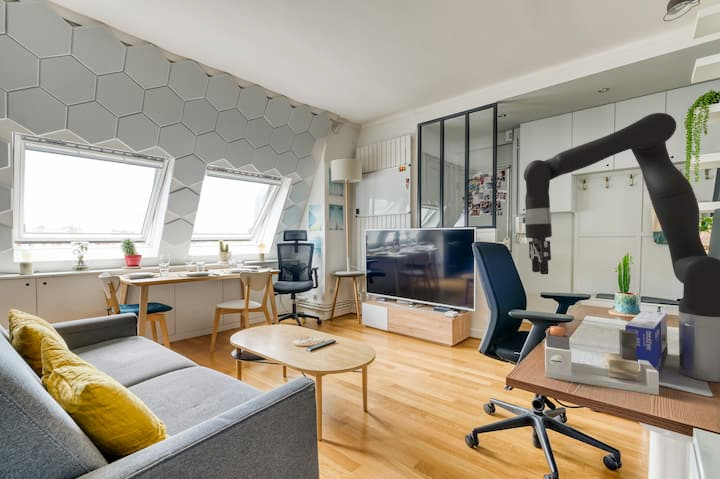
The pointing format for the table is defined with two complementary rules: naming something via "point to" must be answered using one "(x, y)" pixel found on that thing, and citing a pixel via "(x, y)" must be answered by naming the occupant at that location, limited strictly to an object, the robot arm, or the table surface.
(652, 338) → the ink box
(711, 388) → the table surface
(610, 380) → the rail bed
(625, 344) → the carriage
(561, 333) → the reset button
